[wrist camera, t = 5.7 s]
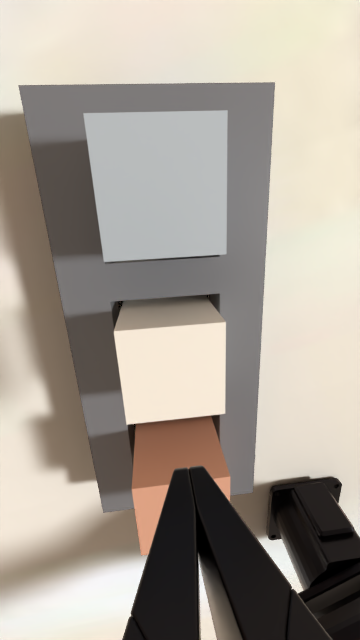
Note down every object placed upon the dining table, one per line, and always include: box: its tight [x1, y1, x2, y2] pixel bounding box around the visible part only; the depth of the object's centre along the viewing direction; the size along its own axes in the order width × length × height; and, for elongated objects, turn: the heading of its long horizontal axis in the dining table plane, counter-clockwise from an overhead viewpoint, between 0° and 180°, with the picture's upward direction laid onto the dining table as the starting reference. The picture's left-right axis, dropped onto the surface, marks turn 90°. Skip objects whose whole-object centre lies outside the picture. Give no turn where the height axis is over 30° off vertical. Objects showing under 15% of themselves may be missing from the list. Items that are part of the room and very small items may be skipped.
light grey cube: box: [83, 110, 228, 262], centre depth 13 cm, size 5×5×5 cm
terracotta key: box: [132, 415, 230, 555], centre depth 17 cm, size 5×5×5 cm
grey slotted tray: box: [19, 82, 275, 513], centre depth 18 cm, size 25×11×3 cm, turn 3°
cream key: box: [114, 295, 226, 425], centre depth 16 cm, size 5×5×5 cm
